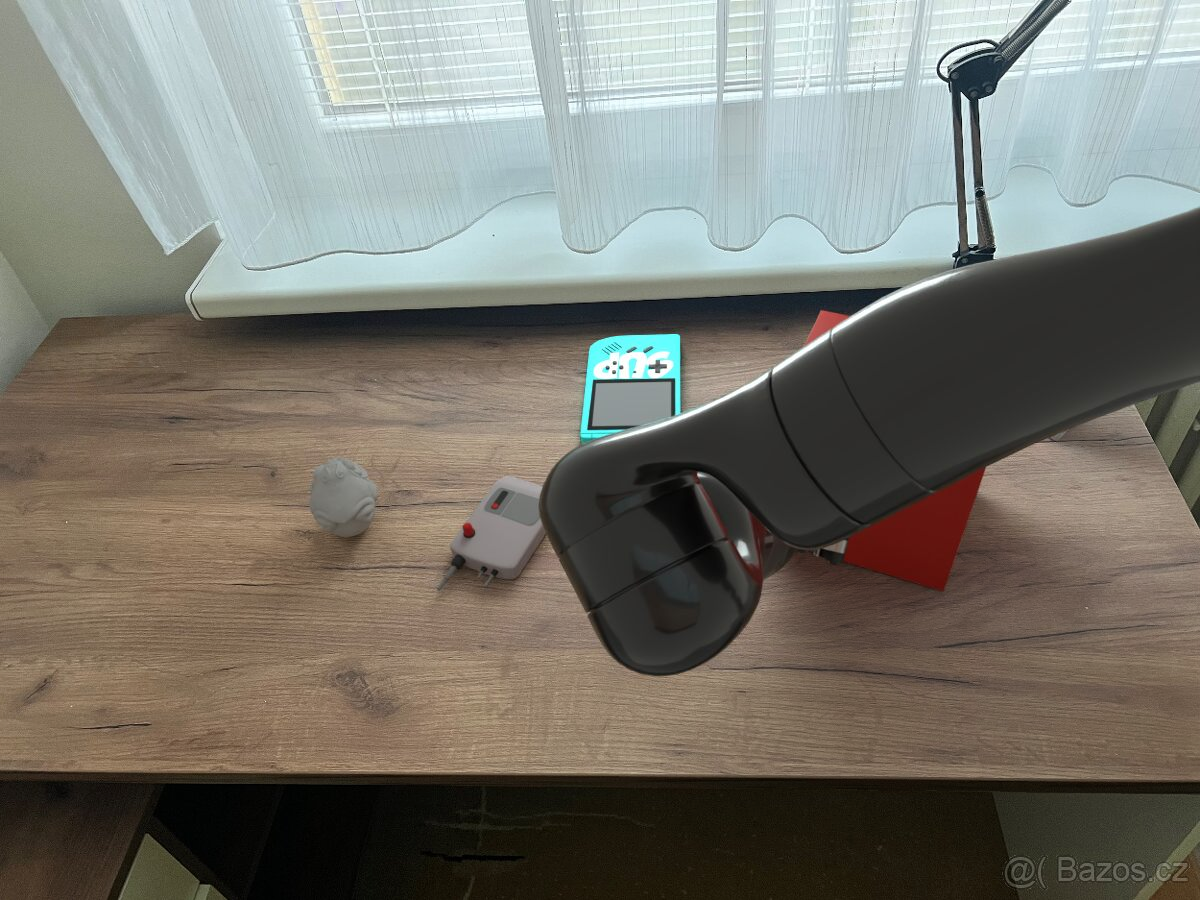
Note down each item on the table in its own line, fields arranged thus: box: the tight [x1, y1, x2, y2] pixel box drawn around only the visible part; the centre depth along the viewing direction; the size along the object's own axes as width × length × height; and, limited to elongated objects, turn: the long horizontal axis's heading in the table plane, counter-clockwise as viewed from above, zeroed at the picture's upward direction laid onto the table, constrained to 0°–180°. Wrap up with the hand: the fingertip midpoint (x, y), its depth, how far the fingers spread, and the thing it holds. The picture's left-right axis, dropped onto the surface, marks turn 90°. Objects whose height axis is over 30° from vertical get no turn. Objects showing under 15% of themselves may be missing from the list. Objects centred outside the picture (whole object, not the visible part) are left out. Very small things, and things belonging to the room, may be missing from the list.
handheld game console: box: [579, 333, 683, 445], centre depth 91 cm, size 10×16×1 cm, turn 176°
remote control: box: [436, 475, 546, 592], centre depth 78 cm, size 7×16×3 cm, turn 154°
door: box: [807, 467, 987, 592], centre depth 67 cm, size 6×15×16 cm, turn 64°
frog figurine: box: [308, 456, 379, 538], centre depth 79 cm, size 6×7×7 cm
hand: (776, 514), depth 69 cm, fingers closed on door
